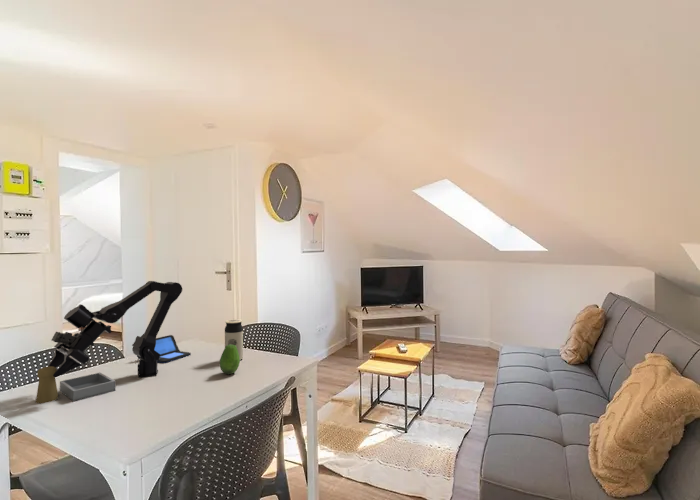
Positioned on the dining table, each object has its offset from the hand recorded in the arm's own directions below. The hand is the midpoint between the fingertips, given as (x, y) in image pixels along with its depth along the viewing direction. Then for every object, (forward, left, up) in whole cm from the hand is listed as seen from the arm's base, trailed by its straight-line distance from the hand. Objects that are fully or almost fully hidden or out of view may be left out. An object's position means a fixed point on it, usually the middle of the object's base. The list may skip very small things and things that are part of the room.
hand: (50, 373), depth 128 cm
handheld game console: (-33, -41, -9) cm, 53 cm away
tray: (-10, -4, -8) cm, 14 cm away
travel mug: (-62, -25, -9) cm, 67 cm away
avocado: (-59, -5, -9) cm, 60 cm away
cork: (+1, 0, -9) cm, 9 cm away
